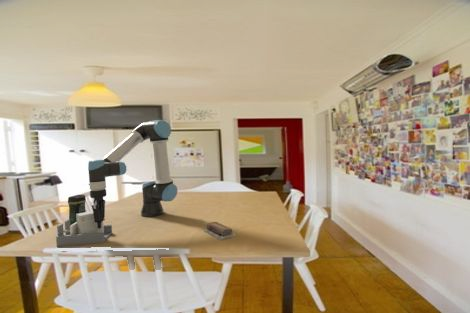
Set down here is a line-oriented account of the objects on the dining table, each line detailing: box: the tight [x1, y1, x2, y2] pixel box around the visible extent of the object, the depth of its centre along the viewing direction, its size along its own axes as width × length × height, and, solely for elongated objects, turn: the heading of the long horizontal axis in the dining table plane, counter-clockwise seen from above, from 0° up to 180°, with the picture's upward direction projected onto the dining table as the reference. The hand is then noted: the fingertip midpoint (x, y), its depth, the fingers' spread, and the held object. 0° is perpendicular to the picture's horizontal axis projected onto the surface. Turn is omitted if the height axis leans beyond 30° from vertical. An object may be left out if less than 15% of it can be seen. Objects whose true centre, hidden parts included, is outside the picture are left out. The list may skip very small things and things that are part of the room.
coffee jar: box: [67, 194, 87, 226], centre depth 162 cm, size 10×8×19 cm
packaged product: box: [203, 221, 237, 241], centre depth 138 cm, size 18×5×10 cm
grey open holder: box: [63, 222, 78, 235], centre depth 134 cm, size 9×10×8 cm
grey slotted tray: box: [55, 218, 113, 247], centre depth 135 cm, size 22×14×10 cm, turn 99°
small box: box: [76, 210, 97, 234], centre depth 135 cm, size 8×6×13 cm
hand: (100, 233), depth 136 cm, fingers closed
